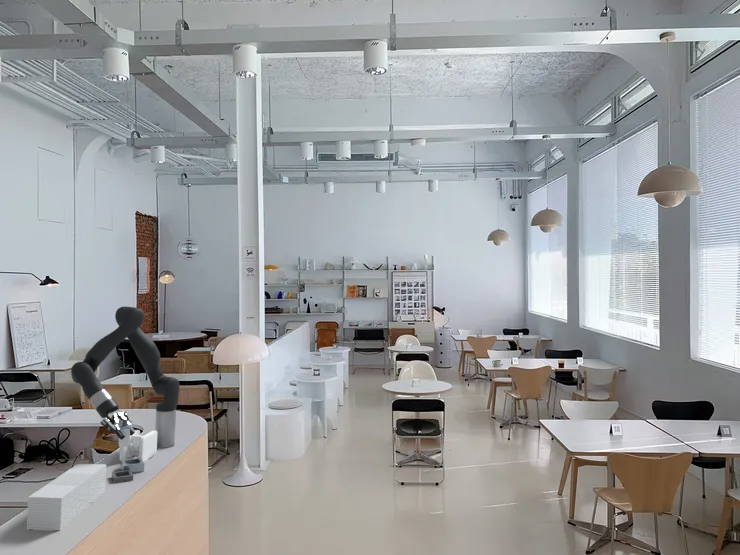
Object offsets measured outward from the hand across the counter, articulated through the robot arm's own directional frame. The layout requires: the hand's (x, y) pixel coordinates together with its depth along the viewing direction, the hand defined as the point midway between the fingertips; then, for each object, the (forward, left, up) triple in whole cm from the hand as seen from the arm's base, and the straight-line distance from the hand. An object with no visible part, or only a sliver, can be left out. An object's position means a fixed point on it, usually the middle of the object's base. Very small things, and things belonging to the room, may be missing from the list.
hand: (128, 436), depth 222 cm
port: (-10, +4, -18) cm, 21 cm away
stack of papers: (+20, -21, -18) cm, 35 cm away
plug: (-1, -1, -4) cm, 5 cm away
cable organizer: (-25, +8, -18) cm, 32 cm away
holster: (-1, -1, -18) cm, 18 cm away
